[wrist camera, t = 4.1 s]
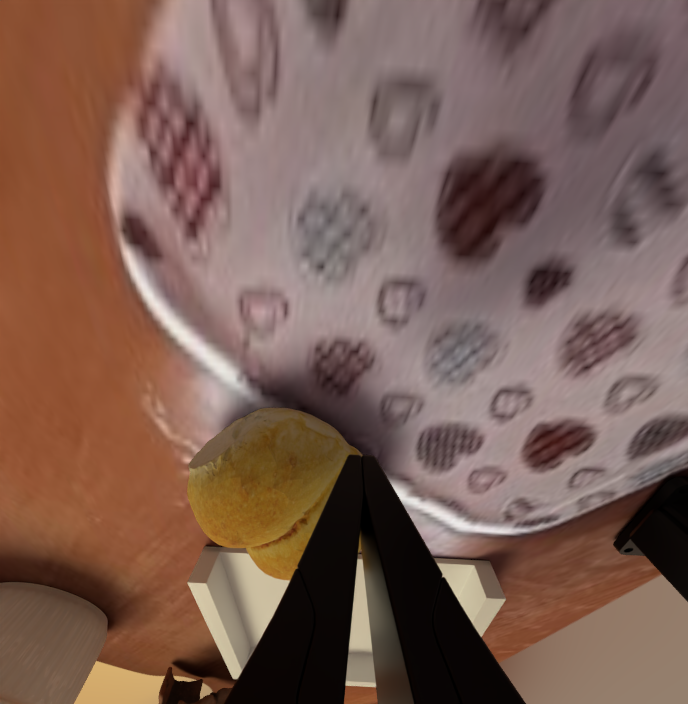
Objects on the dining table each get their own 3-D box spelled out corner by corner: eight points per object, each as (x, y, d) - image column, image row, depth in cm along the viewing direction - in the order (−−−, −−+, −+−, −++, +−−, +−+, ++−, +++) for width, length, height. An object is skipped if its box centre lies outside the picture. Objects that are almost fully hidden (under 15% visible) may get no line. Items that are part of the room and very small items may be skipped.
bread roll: (294, 538, 16) (274, 628, 12) (186, 449, 13) (119, 527, 9) (408, 493, 13) (425, 587, 10) (303, 372, 11) (272, 439, 7)
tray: (489, 560, 17) (505, 599, 15) (438, 657, 25) (445, 691, 23) (204, 546, 17) (187, 582, 15) (241, 646, 25) (232, 679, 23)
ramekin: (49, 561, 19) (-101, 722, 13) (153, 632, 24) (83, 770, 18) (-69, 582, 21) (-249, 730, 15) (50, 643, 26) (-45, 771, 20)
